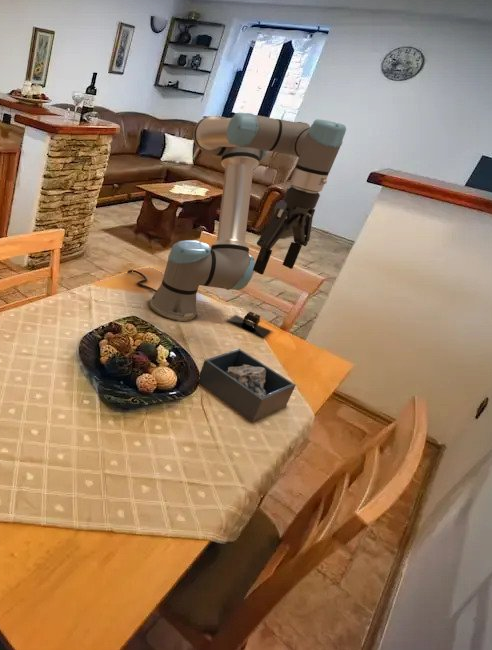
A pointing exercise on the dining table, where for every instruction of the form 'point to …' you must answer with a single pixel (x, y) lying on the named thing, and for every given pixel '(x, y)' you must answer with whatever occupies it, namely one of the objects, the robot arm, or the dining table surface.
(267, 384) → the dark blue storage bin
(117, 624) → the dining table surface
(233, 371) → the mineral specimen
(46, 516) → the dining table surface
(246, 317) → the build plate
